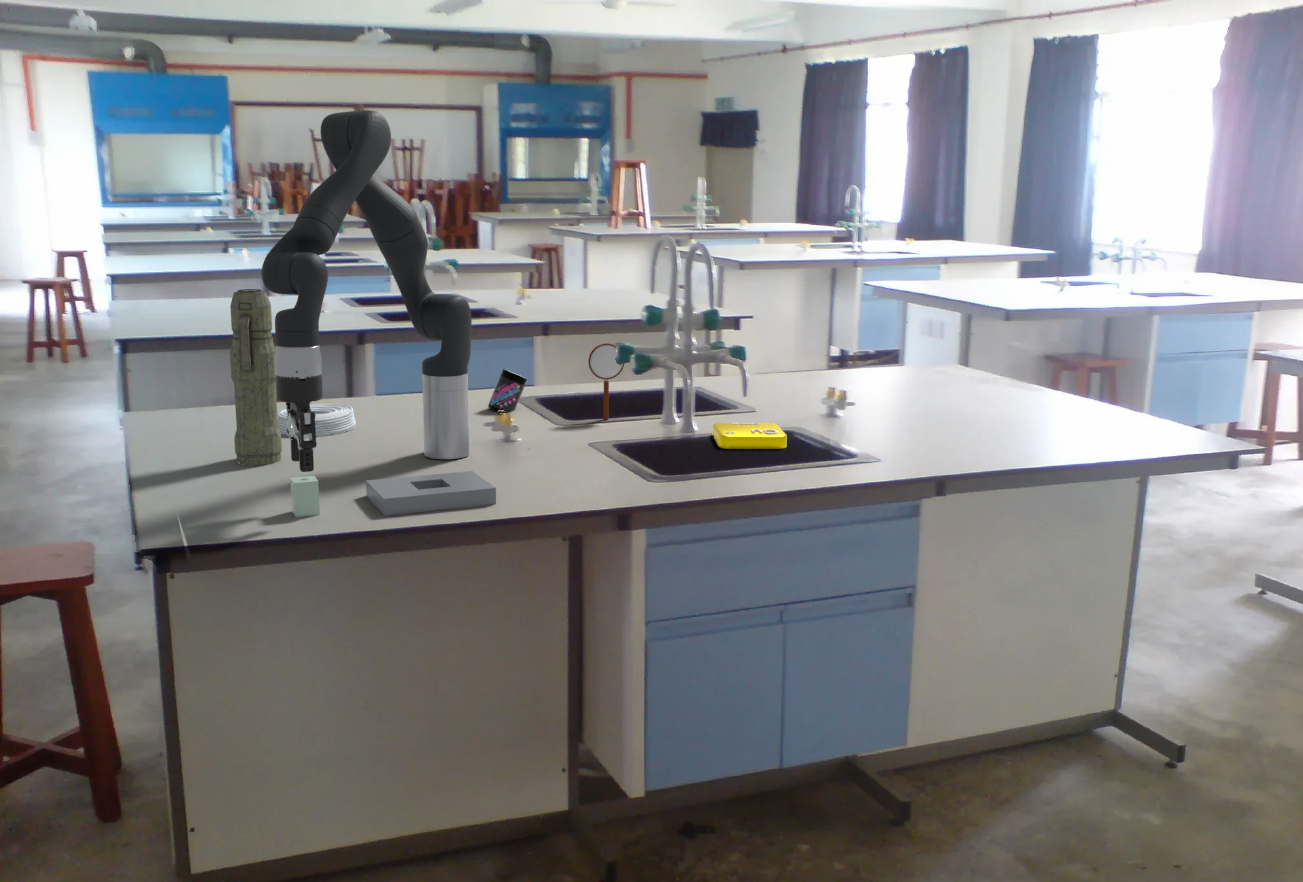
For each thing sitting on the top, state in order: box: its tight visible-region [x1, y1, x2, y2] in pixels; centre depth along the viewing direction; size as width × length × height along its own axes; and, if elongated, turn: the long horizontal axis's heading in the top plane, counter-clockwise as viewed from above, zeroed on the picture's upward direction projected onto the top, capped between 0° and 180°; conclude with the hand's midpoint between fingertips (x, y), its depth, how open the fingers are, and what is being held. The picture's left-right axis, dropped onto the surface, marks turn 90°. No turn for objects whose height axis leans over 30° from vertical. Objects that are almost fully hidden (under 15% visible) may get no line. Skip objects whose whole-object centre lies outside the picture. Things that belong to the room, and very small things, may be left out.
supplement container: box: [487, 368, 529, 413], centre depth 289 cm, size 7×7×10 cm
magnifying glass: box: [588, 342, 625, 421], centre depth 279 cm, size 9×2×20 cm, turn 101°
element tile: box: [712, 422, 788, 450], centre depth 261 cm, size 15×15×5 cm
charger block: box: [289, 475, 321, 518], centre depth 201 cm, size 4×4×6 cm
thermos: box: [229, 288, 283, 467], centre depth 233 cm, size 9×12×35 cm
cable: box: [277, 403, 357, 437], centre depth 266 cm, size 18×18×6 cm
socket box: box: [365, 470, 497, 516], centre depth 211 cm, size 14×20×3 cm
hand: (302, 465), depth 200 cm, fingers open, 8 cm apart
